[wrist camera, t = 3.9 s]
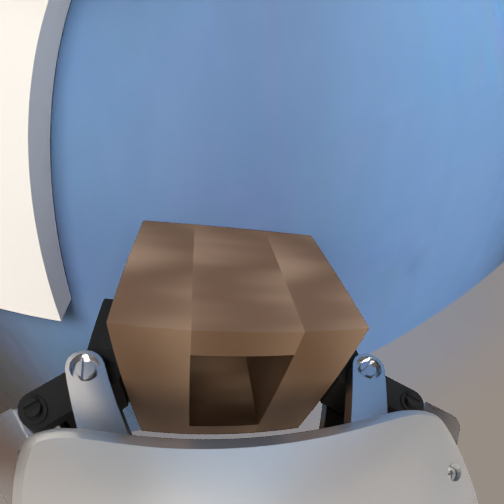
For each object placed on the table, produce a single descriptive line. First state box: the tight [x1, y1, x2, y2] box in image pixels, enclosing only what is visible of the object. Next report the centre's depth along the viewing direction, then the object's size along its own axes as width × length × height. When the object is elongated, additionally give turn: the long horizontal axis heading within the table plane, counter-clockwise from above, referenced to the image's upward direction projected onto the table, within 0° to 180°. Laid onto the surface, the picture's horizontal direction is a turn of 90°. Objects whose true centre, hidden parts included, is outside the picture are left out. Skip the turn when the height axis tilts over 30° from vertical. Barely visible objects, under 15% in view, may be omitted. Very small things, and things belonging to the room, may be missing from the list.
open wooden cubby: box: [106, 221, 369, 434], centre depth 10 cm, size 6×6×5 cm
